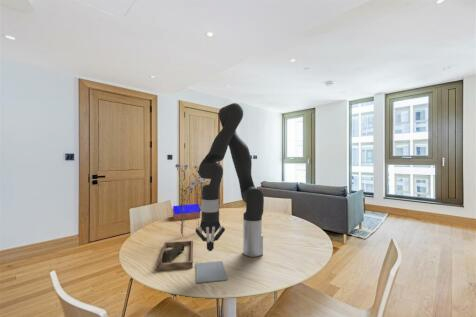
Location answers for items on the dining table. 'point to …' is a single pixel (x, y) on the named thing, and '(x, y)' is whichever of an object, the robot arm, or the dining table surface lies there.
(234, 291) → the dining table surface
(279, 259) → the dining table surface
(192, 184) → the wildflower
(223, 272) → the mat
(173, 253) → the hand tool
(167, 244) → the wooden frame
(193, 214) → the house
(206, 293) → the dining table surface
